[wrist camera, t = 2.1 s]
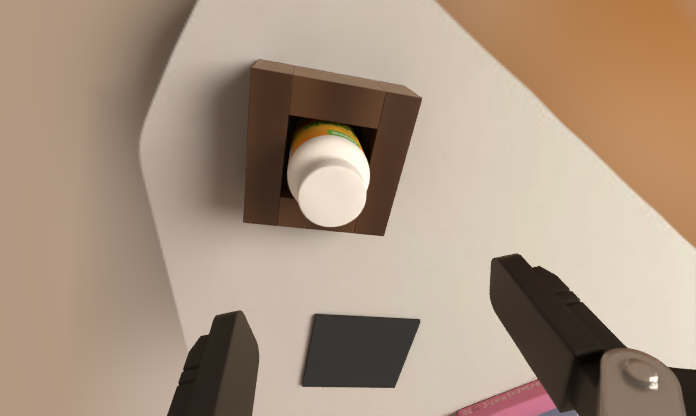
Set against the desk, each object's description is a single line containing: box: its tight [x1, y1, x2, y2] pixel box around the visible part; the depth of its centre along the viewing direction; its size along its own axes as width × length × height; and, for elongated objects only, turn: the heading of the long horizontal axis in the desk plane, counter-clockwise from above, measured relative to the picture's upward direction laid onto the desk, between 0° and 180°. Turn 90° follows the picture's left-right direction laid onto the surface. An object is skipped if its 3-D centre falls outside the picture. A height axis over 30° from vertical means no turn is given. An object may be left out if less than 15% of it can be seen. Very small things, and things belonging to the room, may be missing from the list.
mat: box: [302, 314, 420, 388], centre depth 41 cm, size 12×12×1 cm
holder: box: [243, 59, 422, 236], centre depth 26 cm, size 11×11×4 cm
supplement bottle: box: [287, 118, 370, 227], centre depth 24 cm, size 5×5×10 cm
